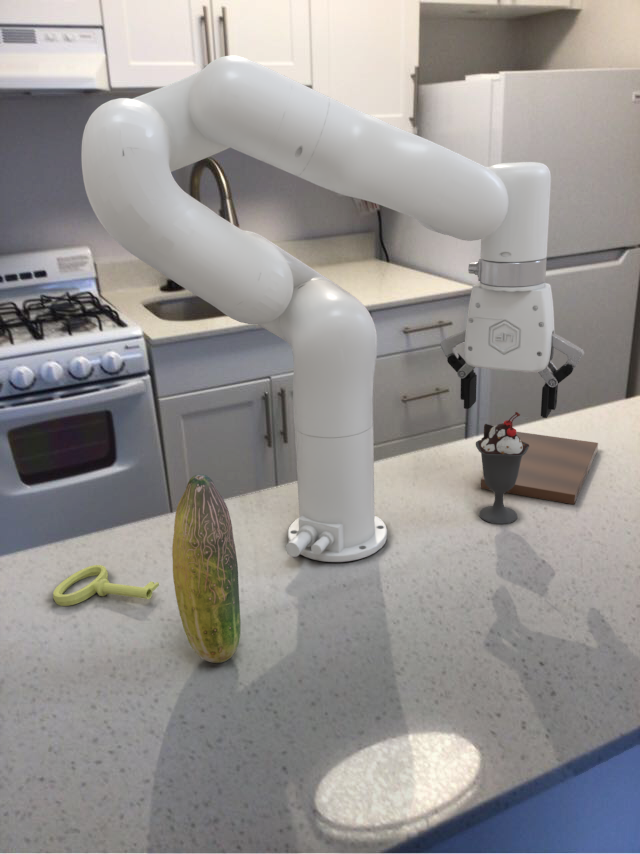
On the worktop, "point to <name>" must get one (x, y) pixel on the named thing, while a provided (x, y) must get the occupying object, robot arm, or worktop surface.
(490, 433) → the sundae
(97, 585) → the key
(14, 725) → the worktop surface
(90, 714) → the worktop surface
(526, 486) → the serving board
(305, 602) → the worktop surface
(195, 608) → the vegetable
